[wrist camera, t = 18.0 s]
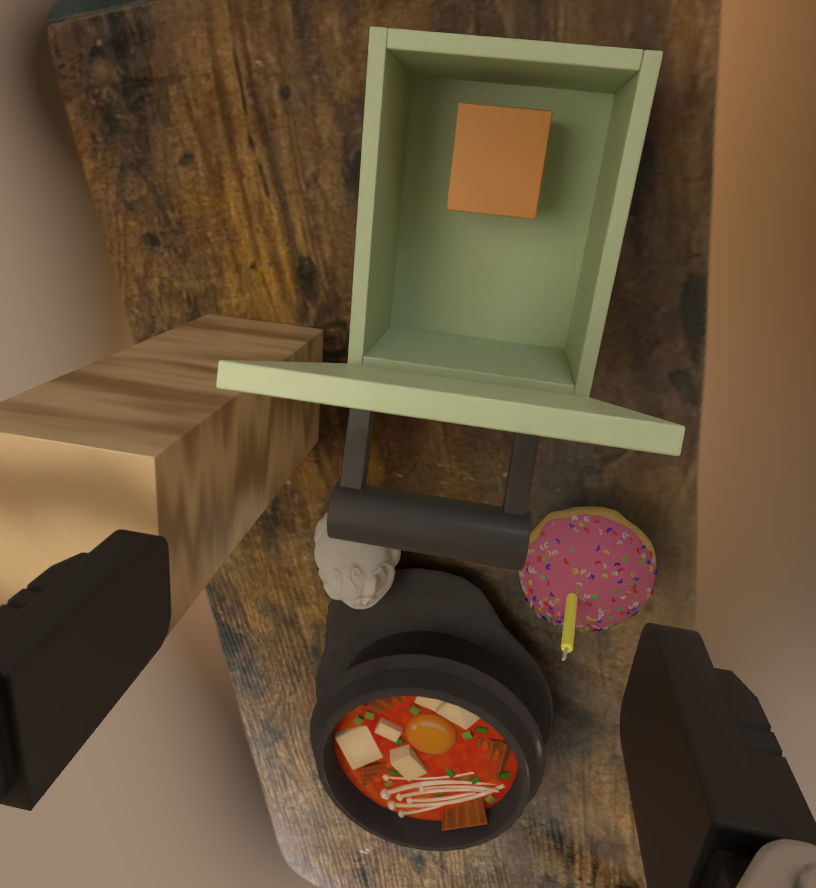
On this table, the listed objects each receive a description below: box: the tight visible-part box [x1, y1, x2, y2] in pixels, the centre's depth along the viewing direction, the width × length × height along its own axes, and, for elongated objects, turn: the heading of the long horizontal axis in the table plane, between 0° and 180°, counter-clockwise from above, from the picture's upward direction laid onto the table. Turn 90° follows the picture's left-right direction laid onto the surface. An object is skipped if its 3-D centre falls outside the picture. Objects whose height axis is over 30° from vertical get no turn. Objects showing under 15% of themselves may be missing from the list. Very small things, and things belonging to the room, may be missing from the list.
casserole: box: [310, 568, 554, 851], centre depth 49 cm, size 25×19×8 cm
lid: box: [216, 360, 685, 570], centre depth 26 cm, size 16×13×5 cm
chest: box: [348, 27, 663, 397], centre depth 35 cm, size 16×13×9 cm
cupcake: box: [518, 506, 657, 661], centre depth 40 cm, size 9×8×12 cm
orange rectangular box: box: [447, 102, 553, 220], centre depth 35 cm, size 5×5×5 cm
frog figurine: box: [314, 512, 401, 609], centre depth 45 cm, size 6×7×7 cm
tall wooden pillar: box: [0, 314, 324, 637], centre depth 35 cm, size 8×8×22 cm
